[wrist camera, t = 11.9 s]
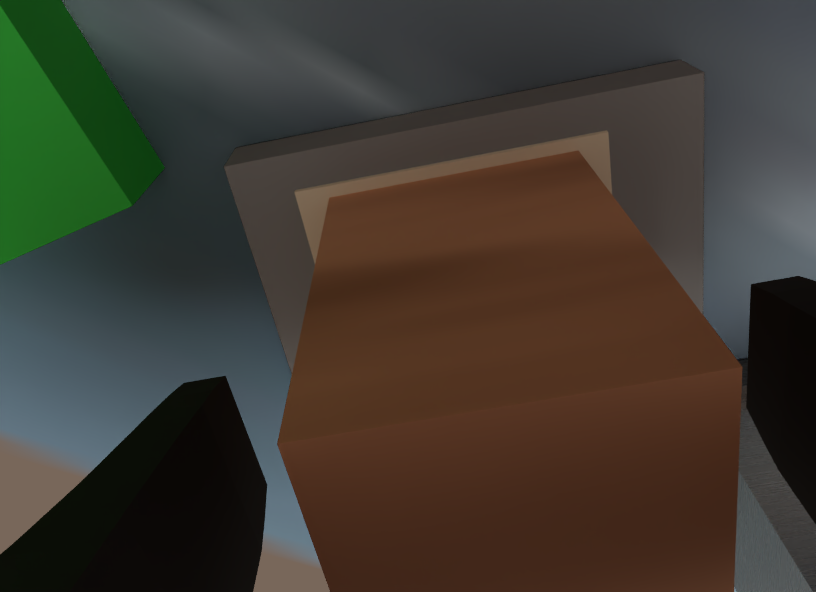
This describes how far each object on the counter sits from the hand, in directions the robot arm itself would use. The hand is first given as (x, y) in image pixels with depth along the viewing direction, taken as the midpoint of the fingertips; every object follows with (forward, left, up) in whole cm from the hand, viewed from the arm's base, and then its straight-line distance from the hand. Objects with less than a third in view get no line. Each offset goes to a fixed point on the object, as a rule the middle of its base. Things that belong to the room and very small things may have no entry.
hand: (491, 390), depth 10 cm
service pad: (0, 0, -4) cm, 4 cm away
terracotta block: (0, 0, -3) cm, 3 cm away
